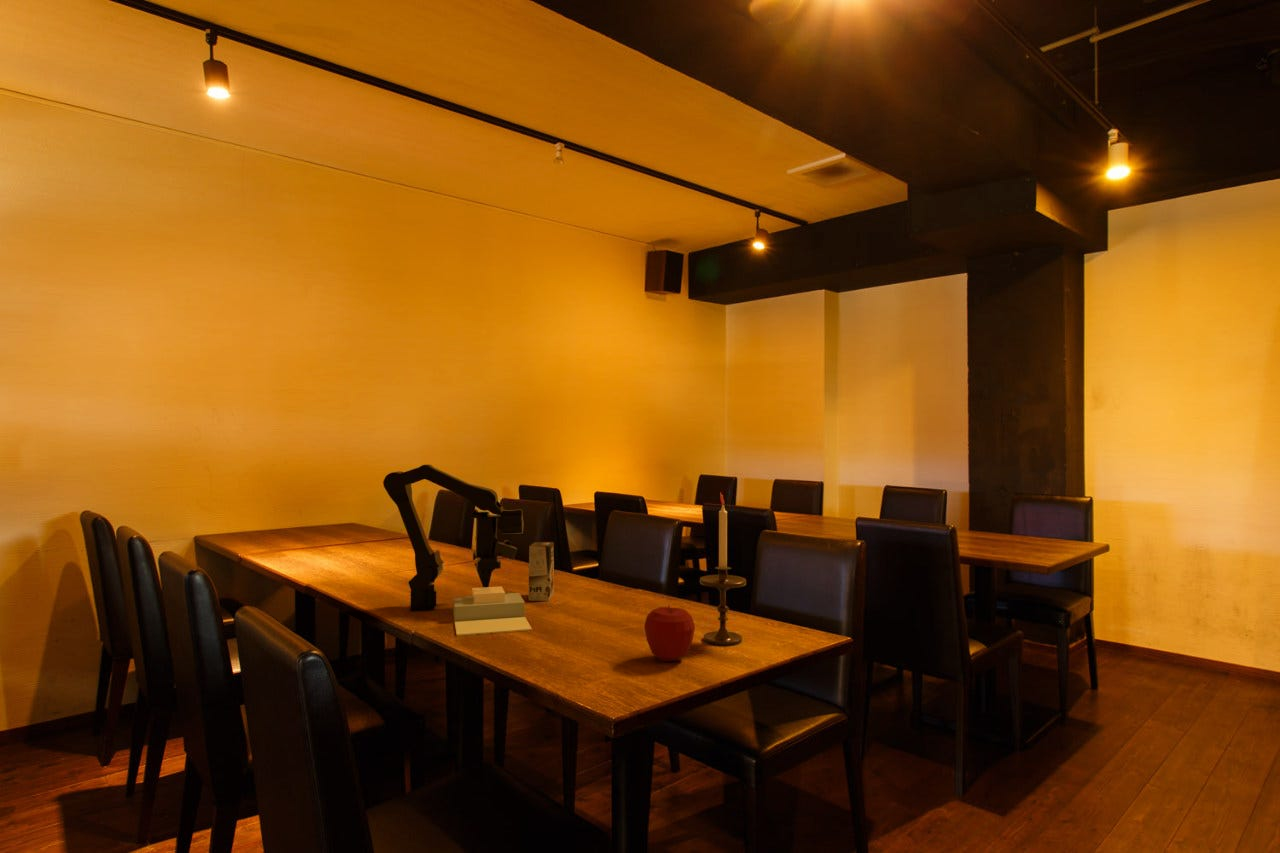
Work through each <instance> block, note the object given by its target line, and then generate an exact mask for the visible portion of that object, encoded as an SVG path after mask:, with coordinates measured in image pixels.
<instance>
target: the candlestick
mask: <svg viewBox="0 0 1280 853" xmlns="http://www.w3.org/2000/svg"><path fill="white" fill-rule="evenodd" d="M719 495H720V498H719V499H720V502H721V509H720V510H719V511H718V566H715V567H714V569H716V570H718V574H708V575H703V576H701V577H699V584H700V585H701V586H704V587H708V588H715V589H717V590H718V591H719V605H718V606H717V607H716V610H717V612H718V613H719V616H718V617H717V621H719V628H718V630H715V631H709V632H705V634H703V642H705V643H706V644H710V645H713V646H720V647H731V646H738V645H739V644H742V643H743V637H742V635H740V634H739V633H736V632H733V631H728V630H727V628H726V626H727V625H726V624H727V623H726V622H727V621H728V620H729V617H727V613H728V612H729V609H730V608H729V606H727V605H726V604H727V599H726V598H727V595H726V592H727V591H728V590H730V589H737V588H743V587H745V586H746V585H747V579H746V578H745V577H742V576H739V575H732V574H728V570H732V567H730V566H728V511H727V510H726V509H725V500H724V495H723V494H722V492H720V493H719Z"/></svg>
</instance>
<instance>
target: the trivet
mask: <svg viewBox="0 0 1280 853" xmlns="http://www.w3.org/2000/svg"><path fill="white" fill-rule="evenodd" d="M471 590H472V591H471V592H472V593H471V596H472V599H473V602H474V604H481V603H496V602H505V594H506V592H505V590H504V588H503V586H489V587H483V586H482V587H473V588H471Z"/></svg>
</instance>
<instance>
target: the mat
mask: <svg viewBox="0 0 1280 853" xmlns="http://www.w3.org/2000/svg"><path fill="white" fill-rule="evenodd" d="M454 626H455V627H454V628H455V632H456V637H464V636H465V635H466V636H477V634H479V635H488V634H489V635H490V633H492V634H501V633H502V634H503V633H504V634H505V633H515V632H530V630H531V631H533V628H532V627H531V625H530V623H529V622H528V620H527V618H526V616H525V617H518V618H504V619H489V620H475V621H461V622H454ZM466 636H465V637H466Z"/></svg>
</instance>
